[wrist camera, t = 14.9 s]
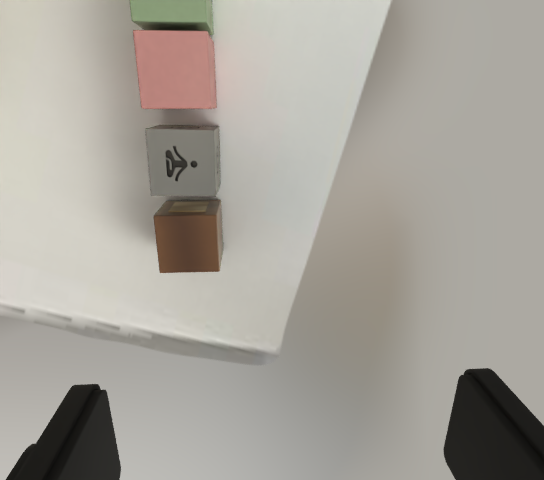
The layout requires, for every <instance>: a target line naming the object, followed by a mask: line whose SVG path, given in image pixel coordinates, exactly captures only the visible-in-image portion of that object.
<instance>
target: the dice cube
mask: <svg viewBox="0 0 544 480" xmlns="http://www.w3.org/2000/svg"><path fill="white" fill-rule="evenodd" d="M145 132H146V144H147V155H148V167H149V178H150V190H151V196H207V197H216V195H217V192H218V189H219V186H220V144H219V126H183V125H158V126H154V127H150V128H146V129H145Z"/></svg>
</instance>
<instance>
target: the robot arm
mask: <svg viewBox="0 0 544 480" xmlns="http://www.w3.org/2000/svg"><path fill="white" fill-rule="evenodd" d="M444 457H445V460H446V463H447V465H448V467H449V468H450V470H451V472H452V474H453V476H454V477H455V479H456V480H544V426H543V425H542V423H541V422H540V421H539V420H538V419H537V418H536V417H535V416H534V415H533V414H532V413H531V412H530V410H529V409H528V408H527V407H526V406H525V405H524V404H523V403H522V402H521V401H520V400H519V399H518V397H517V396H516V395H515V394H514V393H513V392H512V391H511V390H510V389H509V388H508V386H507V385H506V384H505V383H504V382H503V381H502V380H501V379H500V378H499V377H498V376H497V374H496V373H495V372H494V371H492V370H491V369H488V368H486V369H468V370H466V371H465V372H464V375H461V376H460V377H459V380H458V384H457V389H456V394H455V398H454V403H453V407H452V412H451V417H450V421H449V426H448V431H447V435H446V440H445V445H444ZM120 471H121V466H120V460H119V455H118V450H117V444H116V438H115V433H114V428H113V423H112V417H111V412H110V407H109V401H108V396H107V392H106V390H100V387H99V385H98V384H88V385H74V386H72V387H71V388H70V390H69V391H68V393H67V395H66V396H65V398H64V400H63V401H62V403H61V404H60V406H59V408H58V409H57V411H56V412H55V414H54V416H53V417H52V419H51V420H50V422H49V424H48V425H47V427H46V429H45V430H44V432H43V433H42V435H41V436H40V438H39V440H38V441H37V443H36V444H32V445H30V446H29V447H28V448H27V449H26V450H25V452H23V454H22V455H21V457H20V458H19V460H18V462H17V463H16V465H15V466H14V468H13V469H12V471H11V472H10V474H9V475H8V477H7V479H6V480H119V478H120Z"/></svg>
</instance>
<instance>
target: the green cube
mask: <svg viewBox="0 0 544 480" xmlns="http://www.w3.org/2000/svg"><path fill="white" fill-rule="evenodd" d="M130 9H131V18H132V21H133V22H134V23H136V24H137V25H138V26H140V27H141V28H143V29H144V30H172V31H207V32H208V33H209V35H213V15H212V0H130Z"/></svg>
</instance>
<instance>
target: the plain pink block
mask: <svg viewBox="0 0 544 480" xmlns="http://www.w3.org/2000/svg"><path fill="white" fill-rule="evenodd" d="M133 36H134V45H135V54H136V63H137V72H138V81H139V90H140V99H141V108H142V109H212V108H217V103H216V81H215V59H214V42H213V41H212V39H211V37H210V35H209V33H208V32H207V31H172V30H133Z"/></svg>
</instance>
